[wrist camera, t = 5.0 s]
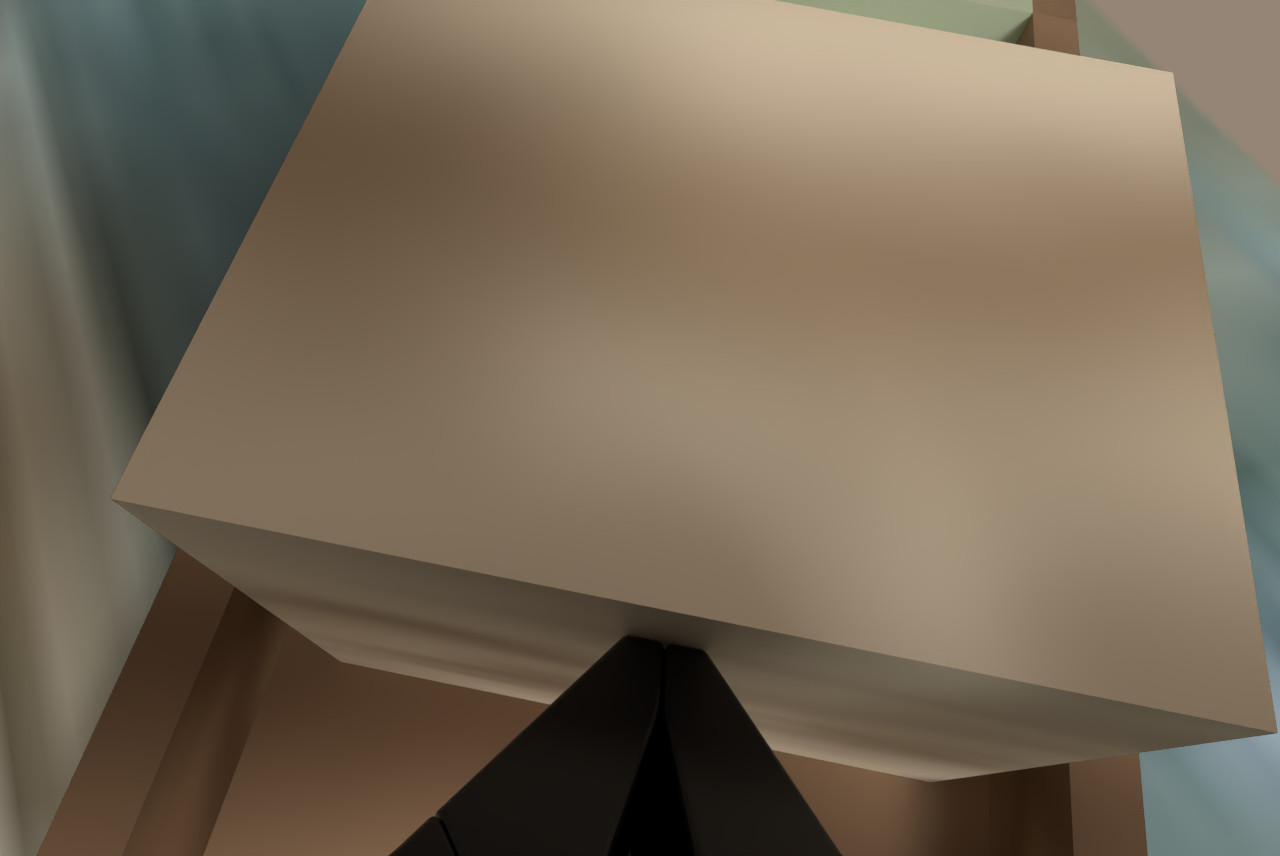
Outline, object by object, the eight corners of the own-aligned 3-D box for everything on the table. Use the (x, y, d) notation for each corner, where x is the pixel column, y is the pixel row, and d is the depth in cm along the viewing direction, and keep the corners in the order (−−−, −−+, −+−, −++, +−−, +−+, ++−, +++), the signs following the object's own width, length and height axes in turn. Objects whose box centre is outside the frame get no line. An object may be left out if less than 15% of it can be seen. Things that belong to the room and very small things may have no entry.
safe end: (1011, 418, 18) (1103, 330, 15) (386, 297, 18) (345, 186, 15) (1004, 111, 22) (1074, -8, 19) (497, 18, 22) (483, -114, 19)
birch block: (930, 782, 13) (1277, 732, 7) (340, 661, 14) (110, 499, 7) (939, 371, 17) (1172, 72, 10) (471, 281, 17) (401, -68, 11)
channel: (1029, 1232, 12) (1191, 1378, 9) (94, 1029, 12) (-76, 1098, 9) (1004, 111, 22) (1074, -8, 19) (497, 18, 22) (483, -115, 19)
